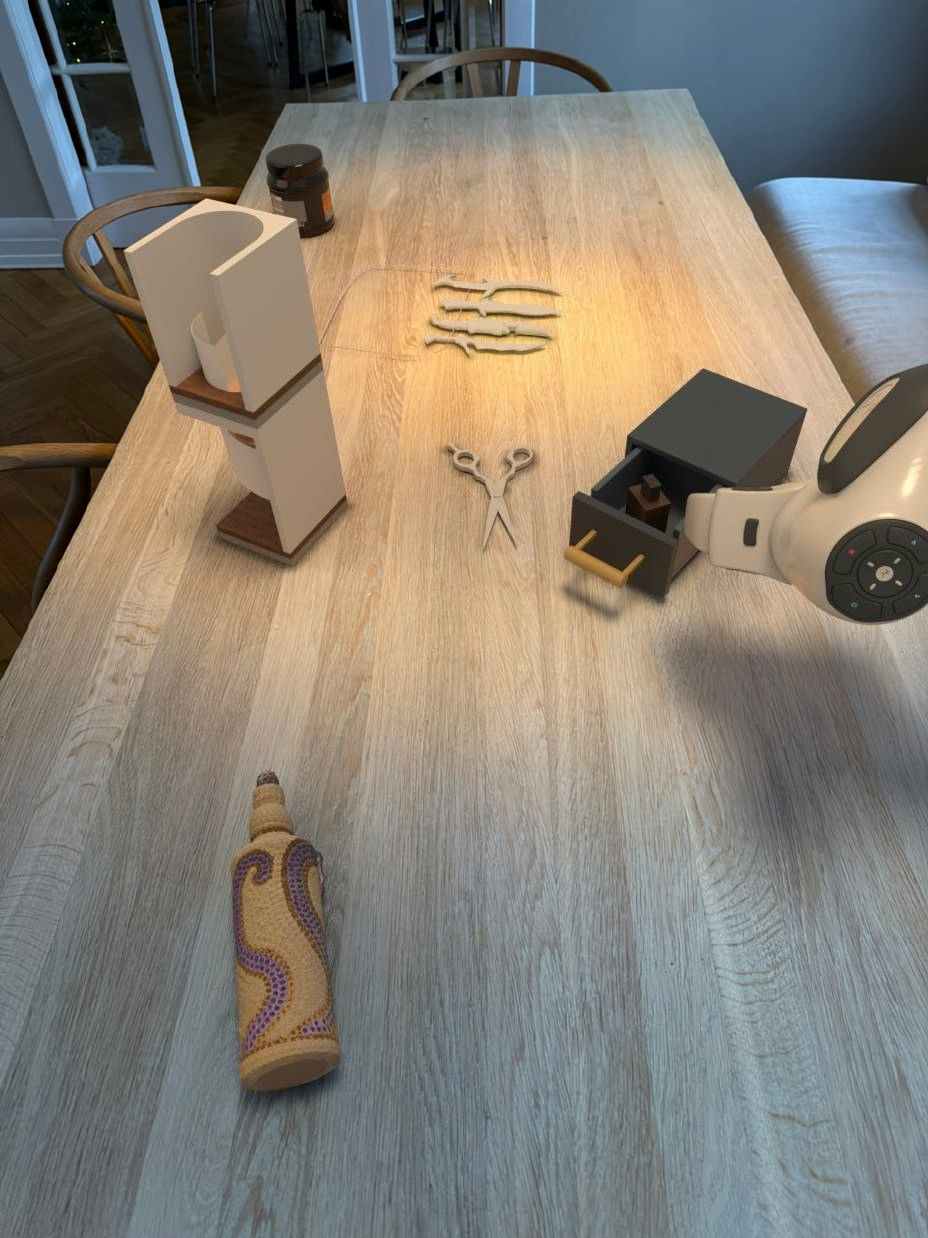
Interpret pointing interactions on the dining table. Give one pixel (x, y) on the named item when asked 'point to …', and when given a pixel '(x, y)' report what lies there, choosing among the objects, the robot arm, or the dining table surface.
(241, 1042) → the decorative bottle
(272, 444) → the slotted cup holder tower
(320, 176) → the supplement container
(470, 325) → the driftwood wall hanging
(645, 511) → the small brown bottle
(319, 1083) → the dining table surface
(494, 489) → the scissors
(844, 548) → the robot arm
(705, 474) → the cabinet
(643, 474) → the drawer
